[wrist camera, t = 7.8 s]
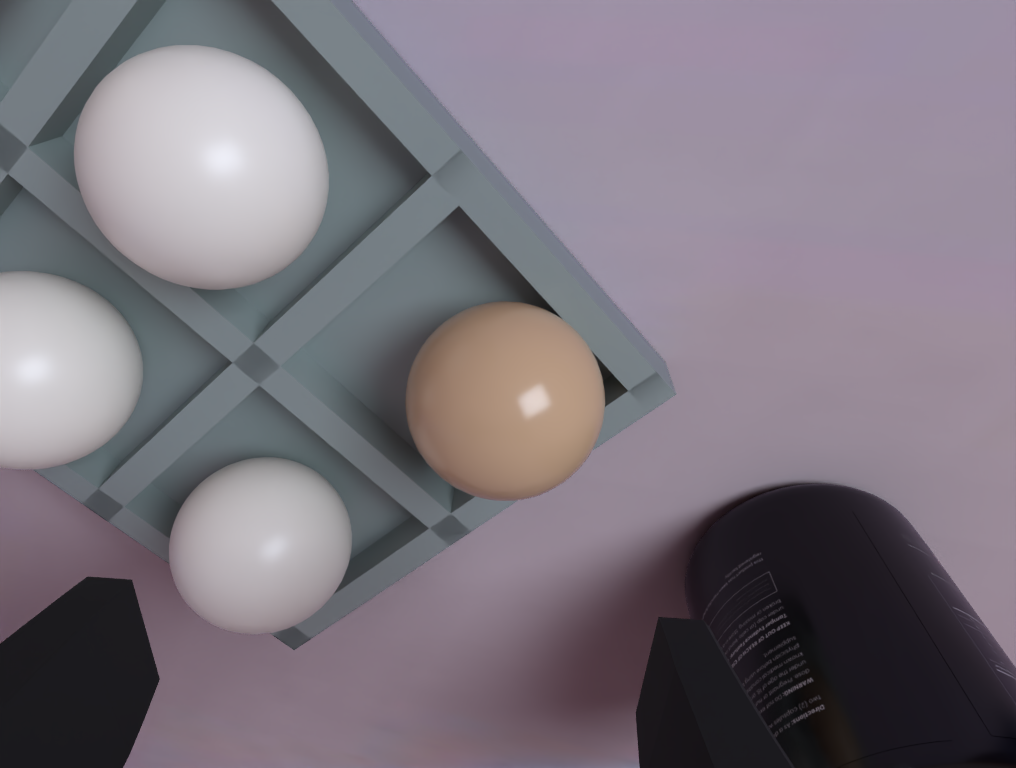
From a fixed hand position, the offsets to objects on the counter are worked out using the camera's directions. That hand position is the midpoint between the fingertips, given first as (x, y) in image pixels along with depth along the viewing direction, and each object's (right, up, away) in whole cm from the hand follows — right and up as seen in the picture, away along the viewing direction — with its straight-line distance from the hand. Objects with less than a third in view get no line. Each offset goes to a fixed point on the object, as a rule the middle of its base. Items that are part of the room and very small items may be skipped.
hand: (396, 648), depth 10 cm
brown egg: (0, +4, +7) cm, 9 cm away
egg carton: (-6, +7, +7) cm, 12 cm away
